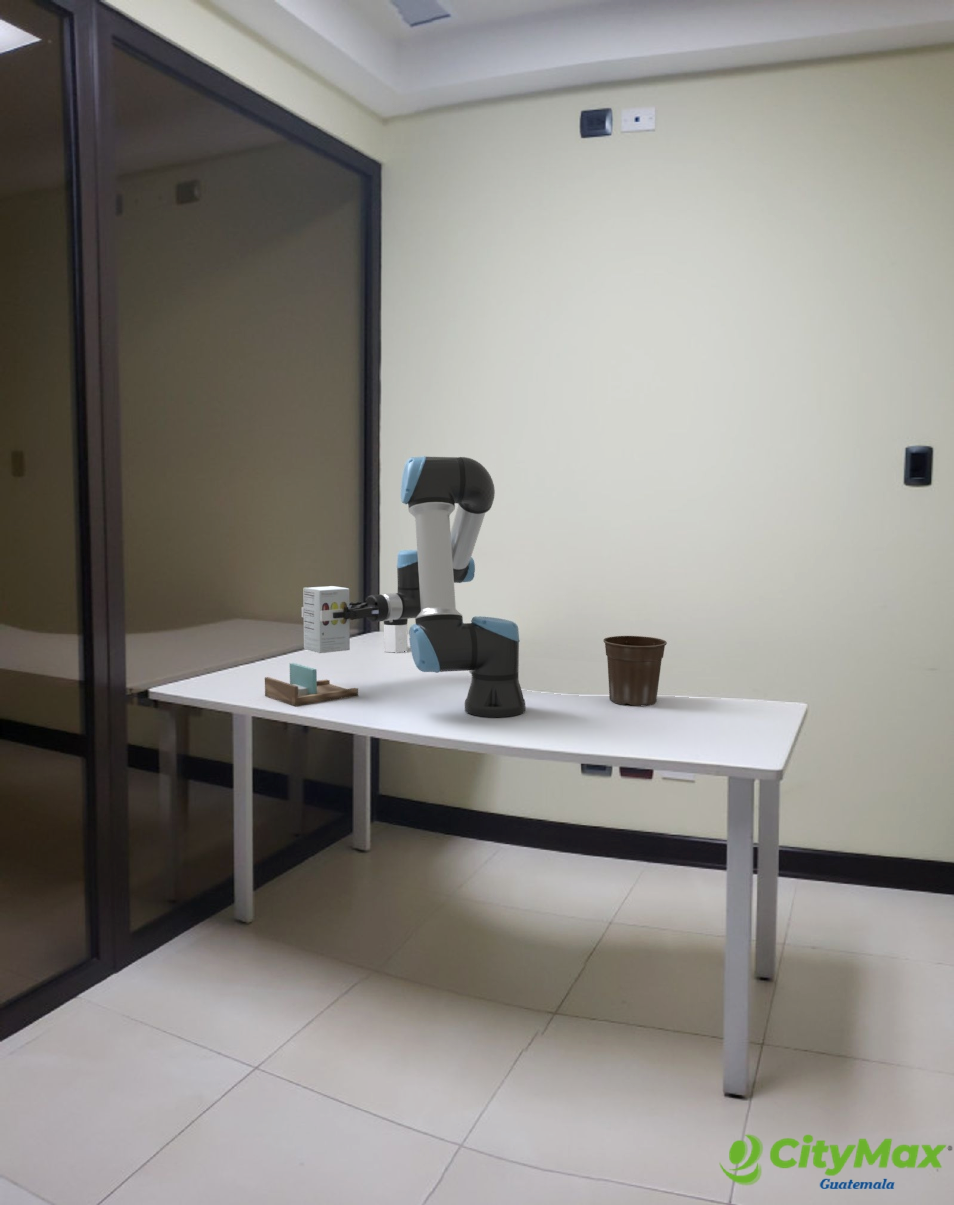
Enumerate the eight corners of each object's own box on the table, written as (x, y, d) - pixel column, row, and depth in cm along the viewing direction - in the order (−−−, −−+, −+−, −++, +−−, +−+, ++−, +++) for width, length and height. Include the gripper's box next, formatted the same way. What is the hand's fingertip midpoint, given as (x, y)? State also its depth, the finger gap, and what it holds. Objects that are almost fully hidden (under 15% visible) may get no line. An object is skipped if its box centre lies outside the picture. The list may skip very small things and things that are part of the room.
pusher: (294, 688, 255) (293, 662, 254) (316, 695, 246) (316, 669, 245) (282, 690, 252) (281, 664, 252) (304, 697, 243) (304, 671, 242)
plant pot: (678, 703, 244) (680, 642, 242) (630, 711, 235) (632, 647, 233) (636, 692, 257) (637, 633, 255) (589, 699, 249) (590, 638, 247)
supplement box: (319, 654, 247) (318, 590, 245) (302, 649, 254) (301, 587, 252) (351, 650, 253) (350, 587, 251) (333, 645, 260) (332, 585, 258)
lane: (326, 686, 264) (326, 668, 263) (358, 696, 252) (357, 677, 251) (265, 695, 252) (264, 677, 251) (294, 706, 239) (294, 686, 239)
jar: (389, 654, 317) (389, 618, 315) (378, 650, 323) (378, 615, 322) (413, 651, 321) (412, 616, 320) (401, 648, 328) (401, 614, 327)
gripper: (405, 625, 256) (333, 632, 242) (361, 617, 273) (291, 623, 258) (404, 597, 255) (332, 603, 241) (360, 591, 272) (291, 596, 258)
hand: (311, 614), depth 250 cm, fingers closed on supplement box, 9 cm apart
